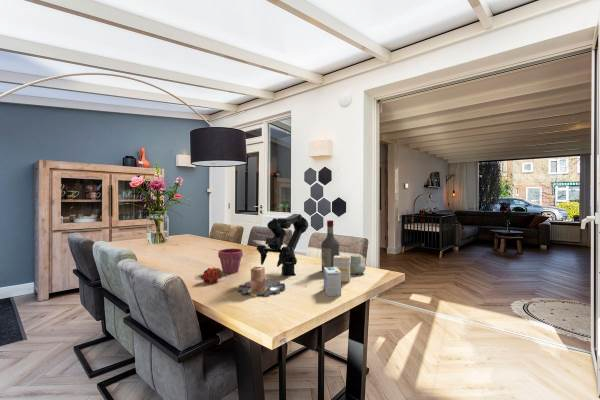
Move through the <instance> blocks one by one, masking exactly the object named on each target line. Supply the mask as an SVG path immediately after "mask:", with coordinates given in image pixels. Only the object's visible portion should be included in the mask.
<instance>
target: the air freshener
mask: <svg viewBox="0 0 600 400" xmlns="http://www.w3.org/2000/svg"><path fill="white" fill-rule="evenodd" d="M366 269H367V268H366V265H365V263H362V256H361V255H360V254H351V255H350V274H352V275H360V274H363V273H364V272H365V271H366Z"/></svg>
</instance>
